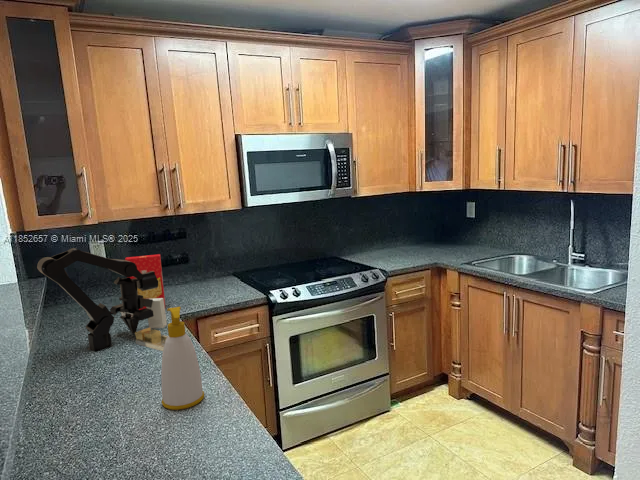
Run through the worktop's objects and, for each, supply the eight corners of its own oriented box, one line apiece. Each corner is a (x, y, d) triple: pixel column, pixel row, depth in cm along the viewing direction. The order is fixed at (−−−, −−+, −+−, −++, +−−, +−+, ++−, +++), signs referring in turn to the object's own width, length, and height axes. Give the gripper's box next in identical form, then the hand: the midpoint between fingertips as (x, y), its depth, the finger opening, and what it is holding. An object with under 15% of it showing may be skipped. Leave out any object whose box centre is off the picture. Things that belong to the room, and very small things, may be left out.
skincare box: (167, 325, 181) (164, 297, 179) (163, 329, 176) (160, 300, 174) (152, 326, 181) (149, 297, 179) (148, 330, 176) (145, 301, 175)
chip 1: (143, 341, 161) (140, 330, 161) (137, 342, 163) (134, 332, 163) (153, 337, 165) (150, 327, 165) (147, 339, 167) (143, 328, 167)
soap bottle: (163, 415, 112) (152, 317, 108) (160, 395, 123) (150, 305, 119) (208, 404, 117) (199, 309, 113) (201, 386, 127) (193, 298, 123)
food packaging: (131, 313, 200) (125, 259, 196) (132, 309, 205) (126, 257, 201) (165, 308, 205) (159, 256, 201) (165, 305, 210) (160, 254, 206)
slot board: (136, 345, 161) (135, 340, 160) (154, 337, 167) (154, 332, 167) (164, 353, 152) (164, 347, 152) (183, 345, 159) (182, 339, 159)
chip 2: (152, 345, 159) (151, 334, 158) (145, 343, 161) (143, 332, 160) (161, 341, 162) (160, 330, 162) (154, 339, 164) (153, 329, 164)
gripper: (163, 291, 167) (167, 330, 169) (133, 286, 176) (137, 323, 179) (137, 298, 157) (142, 340, 160) (107, 293, 167) (112, 332, 170)
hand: (134, 333), depth 167 cm, fingers closed
